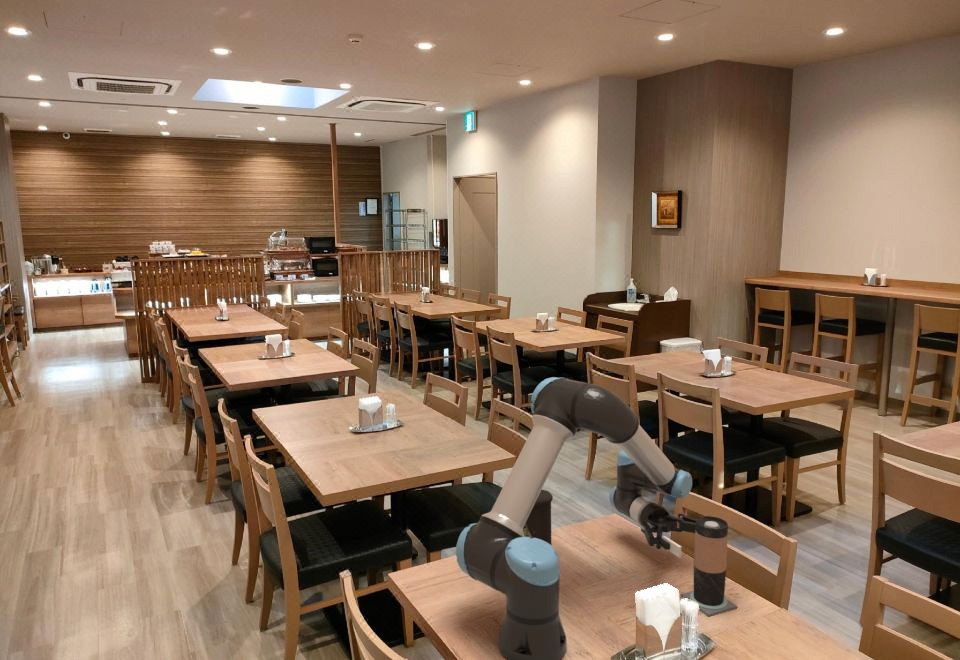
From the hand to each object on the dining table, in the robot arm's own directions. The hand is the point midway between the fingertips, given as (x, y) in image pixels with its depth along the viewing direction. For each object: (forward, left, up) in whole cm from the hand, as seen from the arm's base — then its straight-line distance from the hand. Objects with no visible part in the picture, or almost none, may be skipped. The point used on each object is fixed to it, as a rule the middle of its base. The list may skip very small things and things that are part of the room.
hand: (702, 547), depth 170 cm
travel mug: (0, -3, -12) cm, 13 cm away
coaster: (0, -3, -13) cm, 13 cm away
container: (-29, +34, -13) cm, 46 cm away
